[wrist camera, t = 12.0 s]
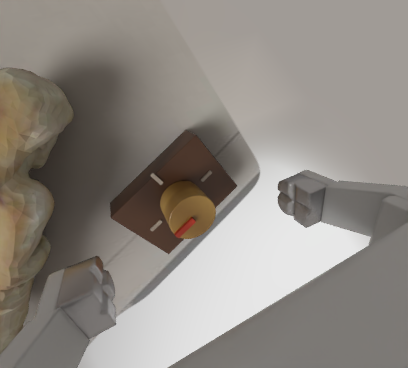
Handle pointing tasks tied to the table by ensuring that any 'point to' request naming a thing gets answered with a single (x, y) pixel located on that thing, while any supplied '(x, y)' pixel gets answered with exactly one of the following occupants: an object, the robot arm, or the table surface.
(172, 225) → the dimmer knob
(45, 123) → the statue
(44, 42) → the table surface
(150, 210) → the dimmer panel
